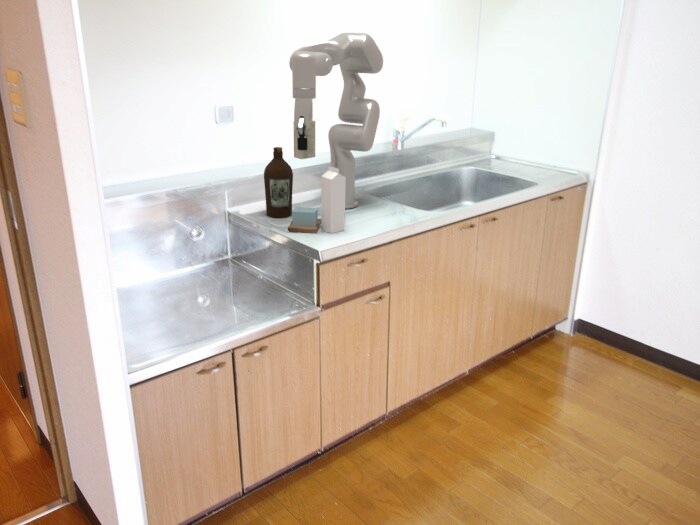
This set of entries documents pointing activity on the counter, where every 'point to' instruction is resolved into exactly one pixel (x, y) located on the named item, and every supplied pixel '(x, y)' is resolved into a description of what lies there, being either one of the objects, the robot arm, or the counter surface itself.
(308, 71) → the robot arm
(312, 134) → the skincare box
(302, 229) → the board
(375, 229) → the counter surface
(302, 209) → the brick
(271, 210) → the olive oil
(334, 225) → the milk
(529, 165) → the counter surface
